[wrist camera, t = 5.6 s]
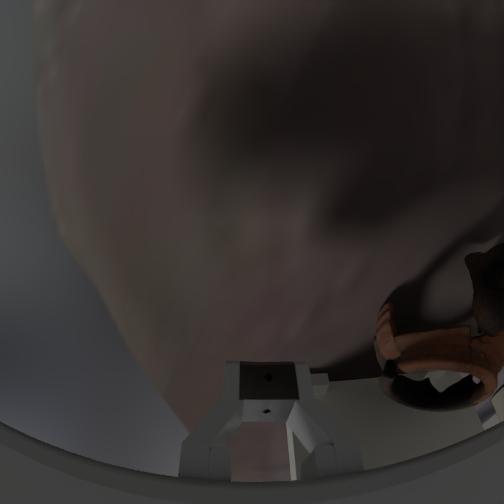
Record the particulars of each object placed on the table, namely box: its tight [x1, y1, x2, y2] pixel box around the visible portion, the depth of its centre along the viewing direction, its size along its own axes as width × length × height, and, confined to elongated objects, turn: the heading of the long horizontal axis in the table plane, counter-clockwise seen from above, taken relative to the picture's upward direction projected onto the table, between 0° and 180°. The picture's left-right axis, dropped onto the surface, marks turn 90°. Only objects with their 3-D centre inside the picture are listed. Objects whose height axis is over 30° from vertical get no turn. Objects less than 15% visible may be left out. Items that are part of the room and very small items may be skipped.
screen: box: [286, 370, 484, 480], centre depth 16 cm, size 4×16×10 cm, turn 86°
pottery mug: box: [374, 243, 504, 412], centre depth 13 cm, size 12×10×8 cm
